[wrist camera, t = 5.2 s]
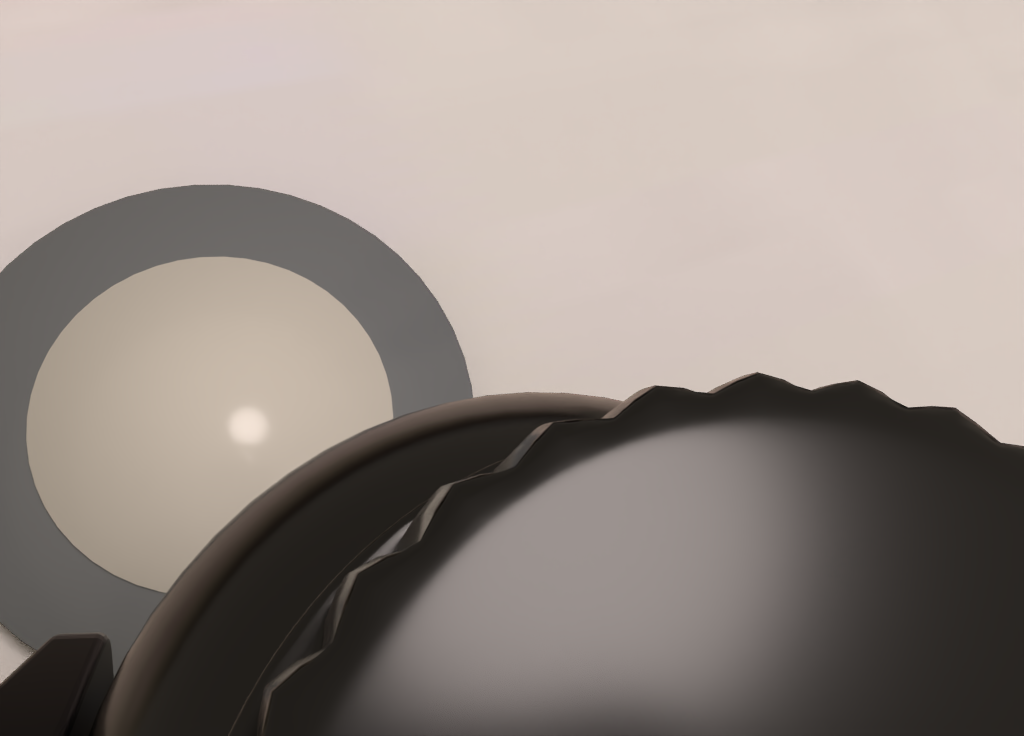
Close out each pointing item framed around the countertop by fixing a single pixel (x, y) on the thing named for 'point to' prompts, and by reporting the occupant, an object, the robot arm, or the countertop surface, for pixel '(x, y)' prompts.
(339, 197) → the countertop surface
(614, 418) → the supplement bottle
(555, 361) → the countertop surface
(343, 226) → the coaster
